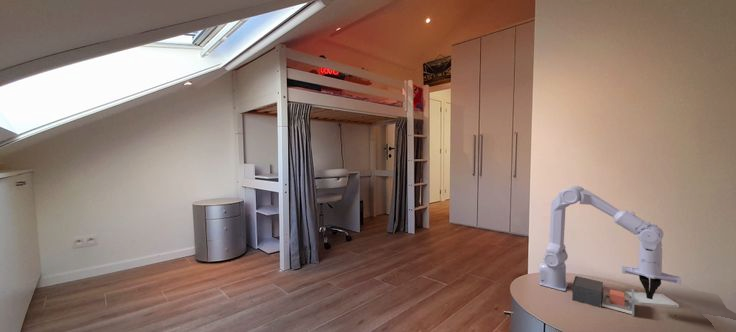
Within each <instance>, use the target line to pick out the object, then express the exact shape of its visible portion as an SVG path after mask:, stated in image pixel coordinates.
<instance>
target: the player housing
mask: <svg viewBox="0 0 736 332" xmlns="http://www.w3.org/2000/svg"><path fill="white" fill-rule="evenodd" d="M603 284H604V283H603V281H600V280H596V279H591V278H586V277H582V276H578V275H575V276H574V280H573V283H572V291H571V292H572V294H571V295H572V297H571V298H572V301H575V302H579V303H581V304H587V305H590V306H594V307H596V306H597V308H600V307H601V308H602V298H601V297H603V296H604V293H603V292H604V291H603V290H604V285H603Z"/></svg>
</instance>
